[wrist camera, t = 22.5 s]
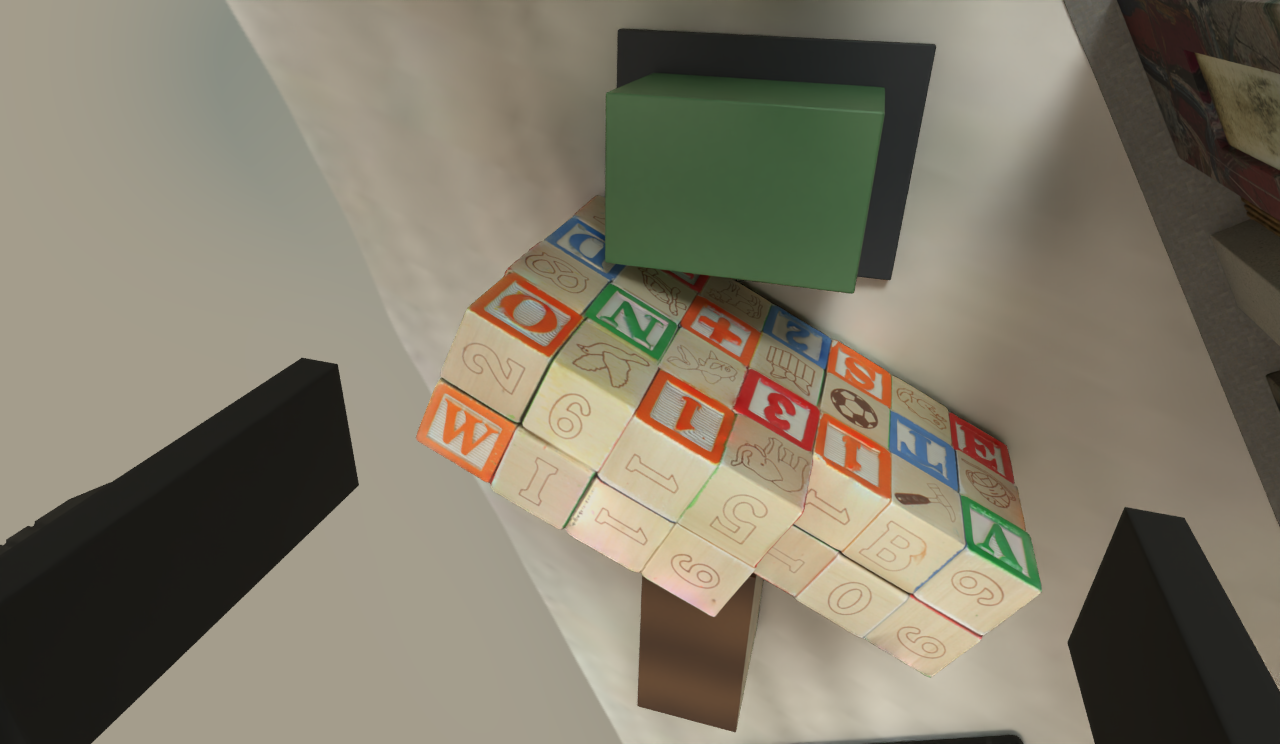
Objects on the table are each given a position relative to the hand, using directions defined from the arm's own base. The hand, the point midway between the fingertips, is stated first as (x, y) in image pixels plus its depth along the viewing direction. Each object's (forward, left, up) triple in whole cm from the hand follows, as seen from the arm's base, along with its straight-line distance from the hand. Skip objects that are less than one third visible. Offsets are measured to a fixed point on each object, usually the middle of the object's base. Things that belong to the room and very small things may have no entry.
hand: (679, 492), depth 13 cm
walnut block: (+20, -2, -22) cm, 29 cm away
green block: (-1, -2, -21) cm, 21 cm away
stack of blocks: (+8, -1, -21) cm, 23 cm away
